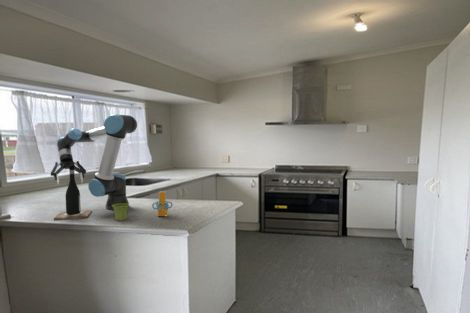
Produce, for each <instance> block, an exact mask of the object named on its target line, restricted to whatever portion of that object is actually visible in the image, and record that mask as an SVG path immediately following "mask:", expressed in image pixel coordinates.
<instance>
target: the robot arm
mask: <svg viewBox="0 0 470 313" xmlns="http://www.w3.org/2000/svg"><path fill="white" fill-rule="evenodd" d="M137 127H138V122H137V120H136V118H135V117H133V116H132V115H127V114H118V113H117V114H116V113H115V114H110V115H108V116H107V117H106V118H105V119H104V121H103V126H101V127H98V128H97V127H96V128H93V129H90V130H88V131H86V130H85V131H81V130H80V129H79V128H77V127H73V128H70V130H69V131H68V132H67V133H66V134H65V136H61V137H58V139H57V140H56V146H57V151H58V156H59V161H60V162H58V161H55V164H54V166H53V168H52V170H50V177H53V178H54V180H55V181H56V184H57V186H59V185H60V178H59V174H60V173H61V172H62V171H63V170H69V165H74V166H75V168H74V172H77V173H78V174H79V177H80V182H81V184H83V183H84V179H85V175H86V174H87V170H86V169H85V167H83V165H81V164H80V161H78V160H77V161H76V162H74V158H73V153H72V147H73V146H74V145H75V144H76V143H93V142H96V141H97V140H101V139H105V138H106V142H105V144H104V145H105V146H104V148H103V149H104V150H103V154H102V156H101V160H100V163H99V168H98V171H97V172H95V174H94V177H93V178H92V179H90V180H89V182H88V190H89V192H90V194H91V195H92V196H94V197H97V198H99V197H104V196H107V199H106V203H105V209H106V210H110V211H111V210H112V211H114V209H113V206H112V205H114V204H120V203H126V204H129V206H128V208H129V207H130V203H129V201H128V196H127V185H126V184H127V180H126V174H122V173H121V174H120V173H114V170H115V167H116V163H117V159H118V157H119V156H118V155H119V153H120V152H119V151H120V148H121V145H122V141H123V140H124V139H125V138H126V136H127V134H132V133H134V132H135V131H136V130H137ZM58 167H59V168H58Z"/></svg>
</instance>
